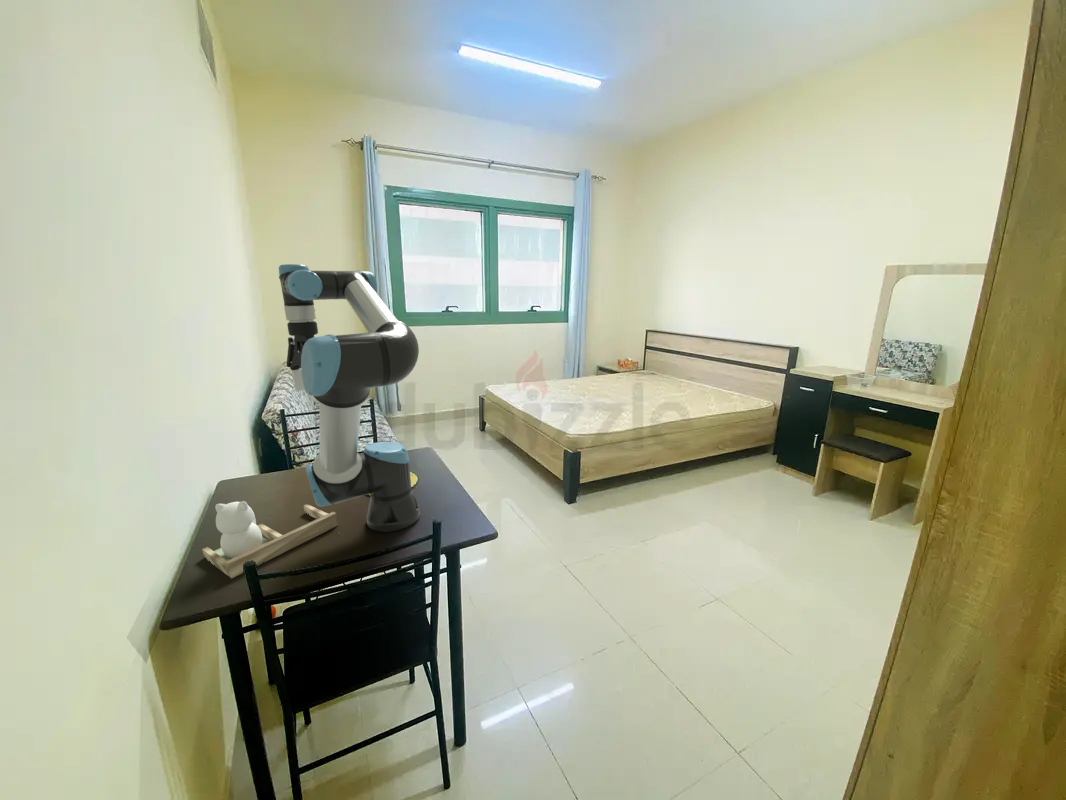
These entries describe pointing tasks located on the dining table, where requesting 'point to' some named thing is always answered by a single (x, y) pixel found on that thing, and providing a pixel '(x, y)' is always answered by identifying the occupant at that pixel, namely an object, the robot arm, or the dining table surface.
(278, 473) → the dining table surface
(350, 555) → the dining table surface
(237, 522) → the cat figurine
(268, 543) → the organizer
